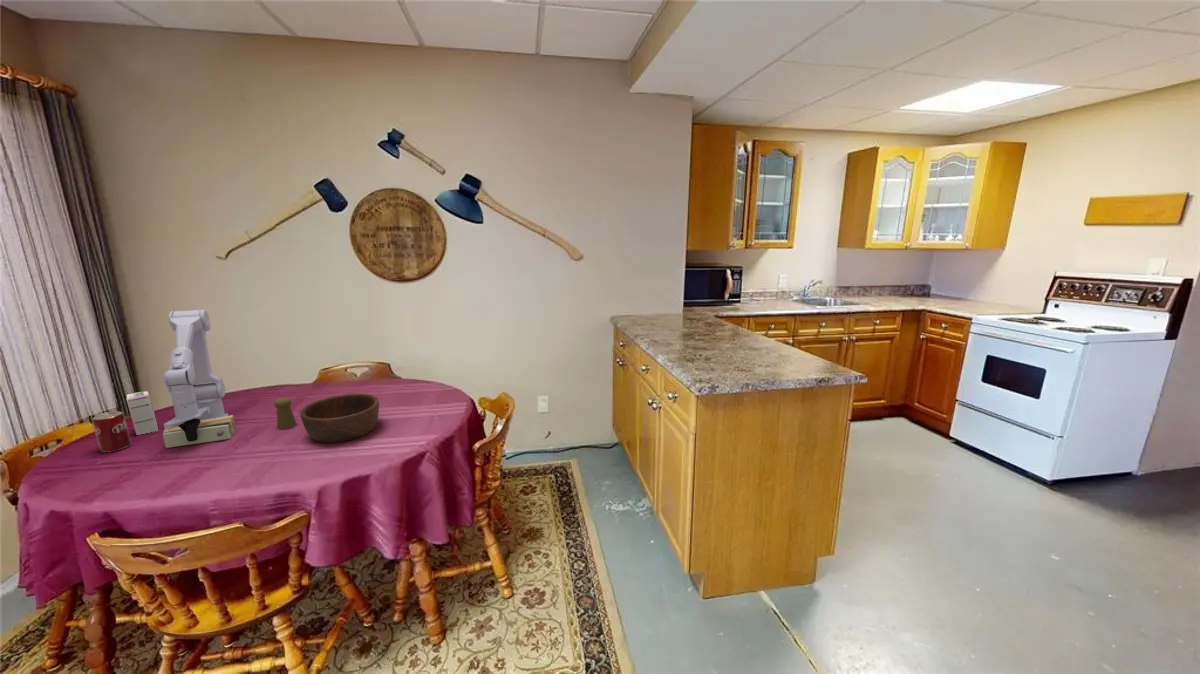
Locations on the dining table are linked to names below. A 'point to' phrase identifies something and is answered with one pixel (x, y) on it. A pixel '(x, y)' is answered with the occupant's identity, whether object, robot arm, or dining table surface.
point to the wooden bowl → (340, 417)
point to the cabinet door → (203, 436)
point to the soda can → (111, 431)
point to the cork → (284, 414)
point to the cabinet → (211, 424)
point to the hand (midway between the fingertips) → (192, 440)
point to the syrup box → (142, 412)
